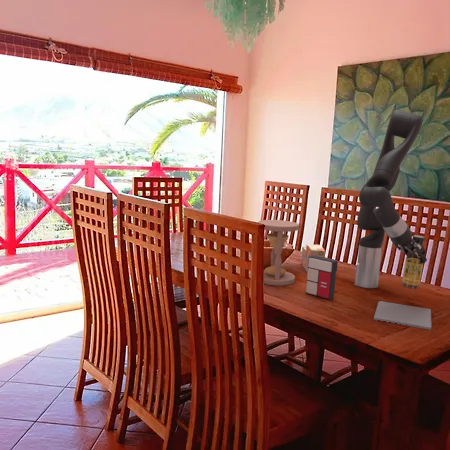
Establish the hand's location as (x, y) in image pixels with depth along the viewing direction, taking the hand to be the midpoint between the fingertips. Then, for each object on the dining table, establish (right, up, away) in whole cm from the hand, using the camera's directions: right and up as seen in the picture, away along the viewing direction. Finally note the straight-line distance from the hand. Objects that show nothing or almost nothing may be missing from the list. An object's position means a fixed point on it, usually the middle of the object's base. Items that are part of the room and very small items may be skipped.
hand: (417, 259), depth 174 cm
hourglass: (-51, -11, +27) cm, 59 cm away
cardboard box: (-31, -9, +46) cm, 57 cm away
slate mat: (-10, -19, -11) cm, 24 cm away
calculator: (-35, -15, +8) cm, 39 cm away
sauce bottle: (-2, -11, +1) cm, 11 cm away
